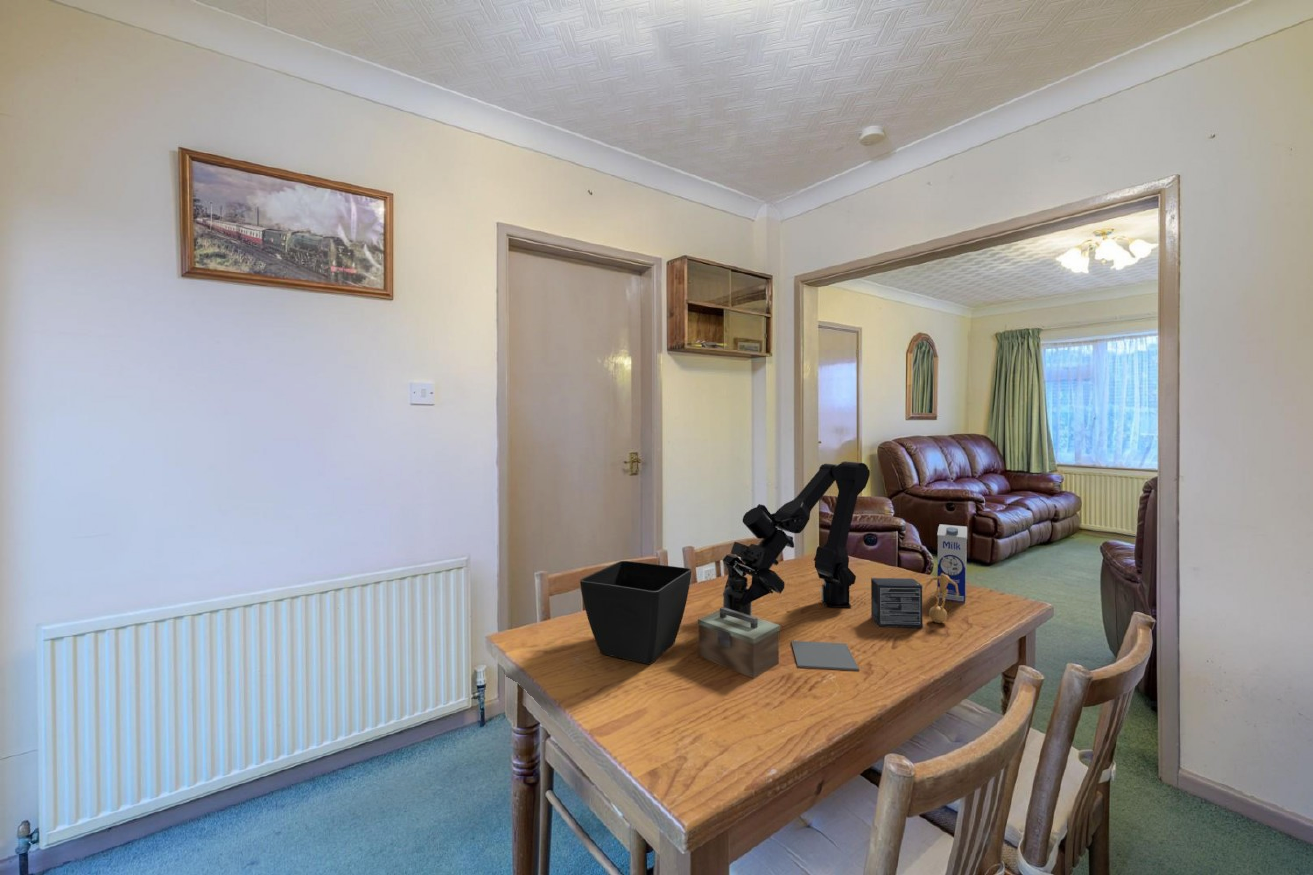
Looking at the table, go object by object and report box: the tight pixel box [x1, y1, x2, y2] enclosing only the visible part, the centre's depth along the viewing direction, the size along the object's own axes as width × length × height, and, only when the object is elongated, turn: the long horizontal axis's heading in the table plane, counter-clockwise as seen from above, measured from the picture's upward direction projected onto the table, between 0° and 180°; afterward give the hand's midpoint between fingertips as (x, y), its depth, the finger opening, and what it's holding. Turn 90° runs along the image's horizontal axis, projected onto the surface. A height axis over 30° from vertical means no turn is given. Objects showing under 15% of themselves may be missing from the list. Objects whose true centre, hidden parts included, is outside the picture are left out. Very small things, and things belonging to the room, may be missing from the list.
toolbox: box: [697, 606, 781, 679], centre depth 111 cm, size 14×10×10 cm
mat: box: [790, 640, 860, 671], centre depth 113 cm, size 12×12×1 cm
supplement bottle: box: [722, 575, 752, 616], centre depth 129 cm, size 7×7×12 cm
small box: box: [870, 577, 924, 629], centre depth 131 cm, size 11×6×10 cm, turn 84°
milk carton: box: [936, 524, 968, 604], centre depth 148 cm, size 7×7×20 cm
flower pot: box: [579, 560, 692, 665], centre depth 117 cm, size 19×19×17 cm
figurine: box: [924, 573, 959, 624], centre depth 131 cm, size 8×6×12 cm
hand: (732, 600), depth 129 cm, fingers open, 7 cm apart
